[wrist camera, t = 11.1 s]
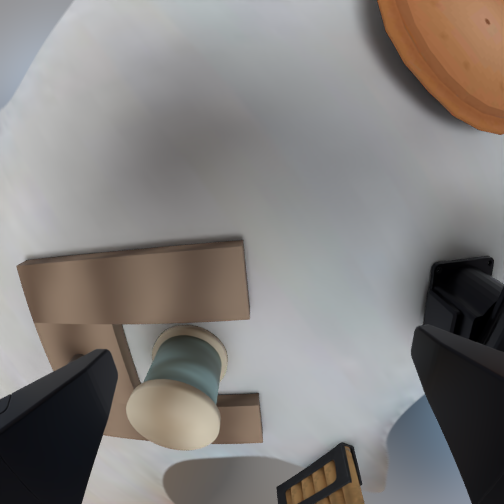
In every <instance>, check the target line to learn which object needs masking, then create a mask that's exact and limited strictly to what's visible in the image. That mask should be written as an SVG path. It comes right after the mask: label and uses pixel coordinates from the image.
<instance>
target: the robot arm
mask: <svg viewBox="0 0 504 504" xmlns="http://www.w3.org/2000/svg"><path fill="white" fill-rule="evenodd" d="M488 262H489V263H488ZM493 264H494V260H493V258H492V257H490V256H484V257H476V258H468V259H460V260H452V261H444V262H437V263H435V264H434V265H433V266H432V269H431V279H430V287H429V292H428V295H427V302H426V309H425V315H424V325H422V326H418V327H416V329H415V331H414V337H413V342H412V348H411V356H412V359H413V362H414V365H415V367H416V370H417V373H418V376H419V378H420V381H421V384H422V387H423V390H424V392H425V395H426V397H427V399H428V402H429V404H430V406H431V408H432V410H433V412H434V414H435V417H436V419H437V421H438V423H439V425H440V427H441V430H442V432H443V434H444V436H445V439H446V441H447V443H448V445H449V447H450V450H451V452H452V455H453V457H454V459H455V462H456V464H457V467H458V469H459V471H460V474H461V476H462V479H463V481H464V484H465V487H466V489H467V492H468V494H469V497H470V500H471V503H472V504H504V284H503V283H501V282H500V281H498V280H496V279H495V278H493V277H492V271H493ZM438 268H439V270H438V271H437V269H438ZM117 381H118V371H117V368H116V365H115V362H114V360H113V357H112V354H111V352H110V351H109V350H108V349H95V350H93V351H91V352H90V353H88V354H86V355H84V356H82V357H80V358H78V359H76V360H75V361H73V362H71V363H69V364H67V365H65V366H63V367H61V368H59V369H57V370H56V371H54V372H52V373H50V374H48V375H46V376H44V377H42V378H40V379H38V380H37V381H35V382H33V383H31V384H29V385H27V386H25V387H23V388H21V389H19V390H17V391H16V392H14V393H12V395H11V394H10V395H8V396H6V397H4V398H2V399H0V504H82V501H83V497H84V494H85V490H86V487H87V483H88V480H89V477H90V473H91V470H92V467H93V464H94V461H95V458H96V454H97V451H98V448H99V445H100V442H101V439H102V436H103V433H104V430H105V427H106V425H107V421H108V418H109V414H110V410H111V406H112V402H113V397H114V393H115V389H116V385H117Z"/></svg>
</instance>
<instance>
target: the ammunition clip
mask: <svg viewBox="0 0 504 504" xmlns="http://www.w3.org/2000/svg"><path fill="white" fill-rule="evenodd" d="M361 485H362V481H361V476H360V472H359V467H358V463H357V459H356V455H355V450H354V447H352V446H350V445H347V444H344V443H340V444H339V445H337V446H336V447H335V448H333V449H332V450H331V451H329V452H328V453H327V454H325V455H324V456H323V457H321V458H320V459H318V460H317V461H316V462H314V463H313V464H311V465H310V466H308V467H307V468H305V469H304V470H302V471H301V472H299V473H298V474H296V475H295V476H293V477H292V478H290V479H289V480H287V481H286V482H284V483H282V484H281V485H279V486H278V487H277V498H278V504H364V500H363V496H362V492H361V488H360V486H361Z"/></svg>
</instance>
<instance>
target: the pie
mask: <svg viewBox="0 0 504 504" xmlns="http://www.w3.org/2000/svg"><path fill="white" fill-rule="evenodd" d="M377 2H378V5H379V9H380V12H381V16H382V19H383V23H384V27H385V31H386V33H387V34H388V36H389V38H390V39H391V41H392V43H393V44H394V46H395V48H396V50H397V52H398V53H399V55H400V57H401V59H402V61H403V62H404V64H405V65H406V66H407V67H408V68H409V70H410V71H411V72H412V73H413V74H414V75H415V76H416V78H417V79H418V80H419V81H420V82H421V84H422V85H423V86H424V87H425V88H426V90H427V91H428V92H429V93H430V94H431V95H432V96H433V97H434V98H436V99H437V100H438V101H439V102H440V103H441V104H442V105H443V106H444V107H445V108H446V109H447V110H448V111H449V112H450V113H451V114H452V115H453V116H454V117H456V118H458V119H460V120H462V121H464V122H465V123H467V124H469V125H471V126H472V127H474V128H476V129H478V130H481V131H485V132H490V133H494V134H499V135H501V134H504V0H377Z"/></svg>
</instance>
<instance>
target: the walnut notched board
mask: <svg viewBox="0 0 504 504" xmlns="http://www.w3.org/2000/svg"><path fill="white" fill-rule="evenodd" d="M17 270H18V273H19V277H20V281H21V284H22V288H23V291H24V294H25V297H26V301H27V304H28V307H29V310H30V313H31V316H32V319H33V321H34V324H35V327H36V330H37V332H38V335H39V338H40V340H41V343H42V345H43V348H44V350H45V353H46V355H47V357H48V360H49V362H50V364H51V367H52V369H53V371H56V370H57V369H59V368H61V367H63V366H65V365H67V364H69V363H71V362H73V361H75V360H76V359H78V358H80V357H82V356H84V355H86V354H88V353H90V352H91V351H93V350H95V349H108V350H109V351H110V352H111V354H112V357H113V360H114V362H115V365H116V368H117V371H118V381H117V385H116V389H115V393H114V397H113V402H112V406H111V410H110V414H109V418H108V421H107V425H106V427H105V430H104V433H103V435H106V436H113V437H120V438H128V439H136V440H146V441H149V440H148V439H146V438H145V437H143V436H142V435H141V434H140V433H139V432H137V431H136V430H135V428H134V427H133V426H132V425H131V423H130V421H129V419H128V417H127V413H126V406H127V402H128V400H129V398H130V396H131V394H132V392H133V390H134V389H135V388H136V387H137V386H138V385H140V384H141V383H140V381H139V378H138V375H137V372H136V369H135V366H134V363H133V360H132V357H131V353H130V350H129V347H128V344H127V341H126V337H125V334H124V330H123V327H122V324H167V323H194V322H215V321H232V320H248V319H250V305H249V295H248V285H247V275H246V265H245V255H244V244H243V240H237V241H225V242H213V243H202V244H190V245H179V246H167V247H156V248H145V249H134V250H124V251H113V252H103V253H92V254H82V255H72V256H62V257H52V258H42V259H32V260H26V261H24V262H23V263H21V264H19V265H17ZM216 406H217V407H218V409H219V412H220V417H221V420H220V429H219V434H218V436H217V438H216V439H215V440H214V441H213V442H212V443H211V444H243V443H263V431H262V422H261V412H260V403H259V393H255V394H234V395H217V403H216Z"/></svg>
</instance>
